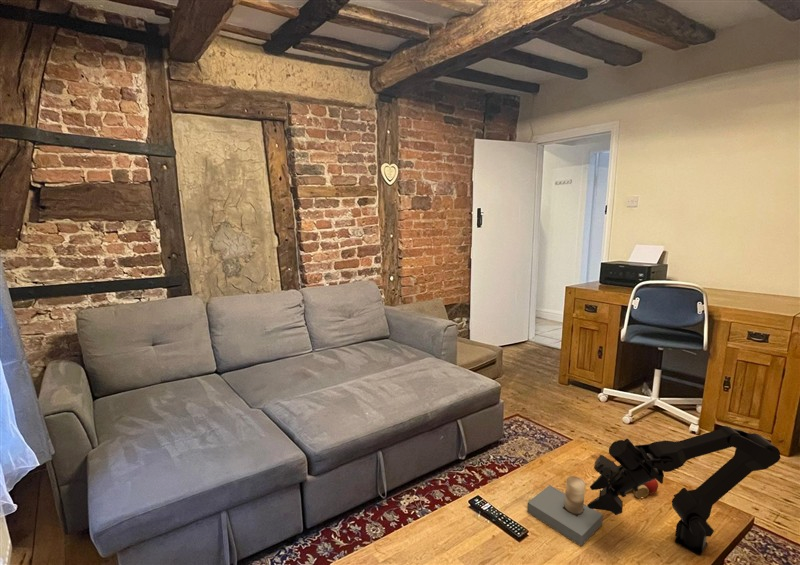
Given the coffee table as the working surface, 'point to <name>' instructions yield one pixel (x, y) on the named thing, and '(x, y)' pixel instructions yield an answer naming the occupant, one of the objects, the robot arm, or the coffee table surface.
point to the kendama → (646, 489)
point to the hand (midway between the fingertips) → (589, 497)
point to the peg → (574, 495)
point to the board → (564, 515)
